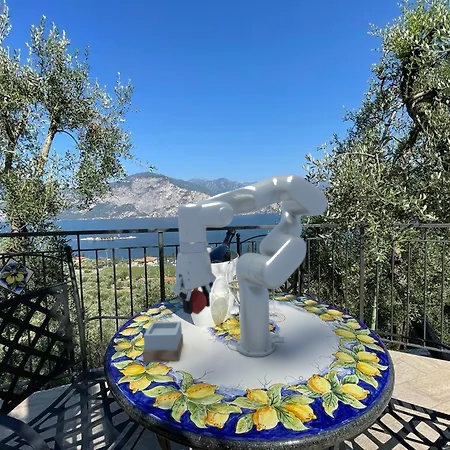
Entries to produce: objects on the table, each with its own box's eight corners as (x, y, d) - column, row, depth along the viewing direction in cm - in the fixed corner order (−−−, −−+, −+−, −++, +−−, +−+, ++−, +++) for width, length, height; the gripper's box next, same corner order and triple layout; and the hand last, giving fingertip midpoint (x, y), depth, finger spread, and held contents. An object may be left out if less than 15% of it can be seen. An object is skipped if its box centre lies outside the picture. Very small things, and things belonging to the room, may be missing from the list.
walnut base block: (183, 345, 107) (182, 334, 106) (178, 362, 96) (178, 350, 95) (151, 346, 107) (150, 335, 106) (143, 363, 96) (142, 351, 95)
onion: (204, 318, 85) (202, 290, 84) (184, 318, 86) (182, 290, 86) (209, 310, 91) (207, 284, 90) (190, 309, 92) (189, 283, 91)
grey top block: (181, 335, 106) (181, 321, 105) (176, 349, 96) (176, 334, 95) (152, 335, 106) (151, 322, 105) (144, 350, 96) (143, 335, 95)
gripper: (206, 241, 95) (209, 298, 97) (159, 251, 83) (164, 315, 85) (224, 243, 90) (227, 303, 92) (176, 254, 78) (181, 322, 80)
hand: (196, 308), depth 89 cm, fingers closed on onion, 5 cm apart
